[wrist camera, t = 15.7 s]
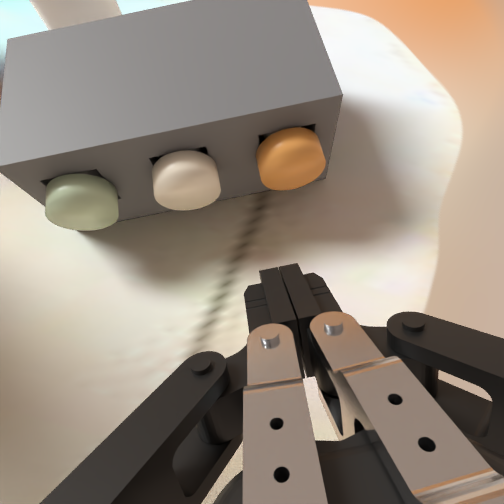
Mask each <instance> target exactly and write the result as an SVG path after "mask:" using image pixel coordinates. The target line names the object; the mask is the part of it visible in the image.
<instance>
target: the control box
mask: <svg viewBox="0 0 504 504" xmlns="http://www.w3.org/2000/svg"><path fill="white" fill-rule="evenodd" d="M342 96H343V94H342V91H341V88H340V86H339V83H338V80H337V78H336V75H335V73H334V70H333V67H332V65H331V62H330V59H329V57H328V54H327V51H326V49H325V46H324V44H323V41H322V38H321V36H320V33H319V30H318V28H317V25H316V23H315V20H314V17H313V15H312V12H311V9H310V7H309V4H308V2H307V0H191V1H186V2H182V3H177V4H172V5H167V6H163V7H158V8H153V9H148V10H144V11H139V12H134V13H129V14H125V15H120V16H115V17H110V18H106V19H101V20H96V21H91V22H87V23H82V24H77V25H72V26H68V27H63V28H58V29H53V30H49V31H44V32H39V33H34V34H30V35H25V36H20V37H15V38H11V39H8V40H7V49H6V58H5V67H4V77H3V86H2V95H1V104H0V172H1V173H2V174H3V175H4V176H6V177H7V178H8V179H10V180H11V181H12V182H14V183H15V184H16V185H17V186H19V187H20V188H21V189H23V190H24V191H25V192H27V193H28V194H29V195H31V196H32V197H33V198H34V199H36V200H37V201H38V202H40V203H41V204H42V205H44V206H46V187H47V185H48V183H49V182H50V181H51V180H53V179H54V178H56V177H59V176H62V175H67V174H75V173H80V172H84V171H89V170H94V169H97V170H98V172H99V173H100V174H101V175H102V176H103V177H104V179H105V180H107V181H109V182H110V183H111V184H113V185H114V186H115V188H116V190H117V193H118V212H119V217H118V219H117V221H116V222H118V221H123V220H128V219H133V218H137V217H142V216H147V215H152V214H157V213H161V212H166V211H171V210H173V209H169V208H166V207H164V206H162V205H160V204H159V203H158V202H157V201H156V199H155V197H154V189H153V179H152V168H153V166H154V164H155V163H156V162H157V160H159V159H160V158H161V157H163V155H166V154H169V153H172V152H177V151H185V150H190V149H195V148H200V147H201V152H202V153H204V154H206V155H208V156H210V157H211V158H212V159H213V160H214V161H215V163H216V165H217V171H218V176H219V182H220V187H221V192H220V195H219V197H218V198H217V199H216V200H215V201H219V200H224V199H229V198H234V197H239V196H244V195H248V194H253V193H258V192H263V191H268V190H272V189H270V188H268V187H266V186H265V185H264V184H263V183H262V181H261V177H260V173H259V168H258V164H257V160H256V151H257V149H258V147H259V145H260V144H261V143H262V142H263V141H264V140H265V139H264V135H263V134H267V133H272V132H277V131H281V130H283V129H287V128H295V127H301V128H306V129H309V130H312V131H313V132H314V133H316V135H317V136H318V139H319V142H320V145H321V148H322V151H323V154H324V157H325V160H326V166H325V168H324V170H323V172H322V173H321V174H320V175H319V176H318V177H317V178H316V179H315V180H313V181H316V180H321V179H325V178H326V173H327V169H328V164H329V159H330V154H331V149H332V144H333V140H334V135H335V130H336V125H337V120H338V115H339V111H340V106H341V101H342ZM215 201H214V202H215Z"/></svg>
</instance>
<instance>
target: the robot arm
mask: <svg viewBox="0 0 504 504" xmlns="http://www.w3.org/2000/svg"><path fill="white" fill-rule="evenodd" d="M259 273H260V279H261V283H260V284H255V285H250V286H248V287H247V289H246V291H245V293H244V298H245V305H246V312H247V319H248V326H249V336H248V338H247V345H246V346H245V347H244V348H243V349H242V350H241V351H239V352H238V353H236V354H234V355H232V356H230V357H228V358H226V359H225V358H224V357H223V355H221V354H220V353H217V352H213V351H206V352H201V353H197V354H195V355H193V356H191V357H189V358H188V359H187V360H185V361H184V362H183V363H182V364H181V365H180V366H179V367H178V368H177V369H176V370H175V371H174V372H173V373H172V374H171V375H170V376H169V377H168V378H167V379H166V380H165V381H164V382H163V383H162V384H161V385H160V386H159V387H158V388H157V389H156V390H155V391H154V392H153V393H152V394H151V395H150V396H149V397H148V398H147V399H146V400H145V401H144V402H143V403H142V404H141V405H140V406H139V407H138V408H137V409H136V410H134V411H133V412H132V413H131V414H130V415H129V416H128V417H127V418H126V419H125V420H124V421H123V422H122V423H121V424H120V425H119V426H118V427H117V428H116V429H115V430H114V431H113V432H112V433H111V434H110V435H109V436H108V437H107V438H106V439H105V440H104V441H103V442H102V443H101V444H100V445H99V446H98V447H97V448H96V449H95V450H94V451H93V452H92V453H91V454H90V455H89V456H88V457H87V458H86V459H85V460H84V461H83V462H82V463H81V464H80V465H79V466H78V467H77V468H76V469H74V470H73V471H72V472H71V473H70V474H69V475H68V476H67V477H66V478H65V479H64V480H63V481H62V482H61V483H60V484H59V485H58V486H57V487H56V488H55V489H54V490H53V491H52V492H51V493H50V494H49V495H48V496H47V497H46V498H45V499H44V500H43V501H42V502H41V503H40V504H201V503H202V501H203V500H204V498H205V497H206V495H207V494H208V492H209V491H210V489H211V488H212V486H213V485H214V483H215V482H216V480H217V479H218V477H219V476H220V474H221V473H222V471H223V470H224V468H225V467H226V465H227V464H228V462H229V461H230V459H231V458H232V456H233V455H234V453H235V452H236V450H237V449H238V447H239V446H240V444H241V443H242V441H243V470H242V471H241V472H240V473H239V474H237V475H236V476H235V477H234V478H233V479H232V480H231V481H230V482H229V483H228V484H227V485H226V486H225V488H224V489H223V490H222V491H221V493H220V494H219V495H218V497H217V498H216V500H215V501H214V503H213V504H504V339H503V338H500V337H496V336H493V335H490V334H487V333H484V332H480V331H477V330H474V329H471V328H468V327H464V326H461V325H458V324H455V323H452V322H448V321H445V320H442V319H438V318H435V317H432V316H429V315H426V314H422V313H418V312H401V313H397V314H395V315H393V316H391V317H390V318H389V319H388V321H387V327H369V326H362V325H359V324H358V323H357V321H356V320H355V319H354V318H353V317H352V316H351V315H349V314H346V313H343V312H342V310H341V308H340V307H339V305H338V303H337V302H336V300H335V298H334V297H333V295H332V293H331V292H330V290H329V288H328V287H327V285H326V283H325V281H324V280H323V278H322V277H320V276H318V275H316V274H315V273H309V274H304V275H303V273H302V271H301V269H300V267H299V265H298V264H297V263H295V264H290V265H285V266H280V267H279V270H278V267H276V268H271V269H266V270H261V271H259ZM304 370H305V373H306V376H307V378H308V377H313V376H315V378H316V380H317V384H318V392H319V397H320V399H321V402H322V404H323V406H324V408H325V411H326V413H327V415H328V417H329V419H330V422H331V424H332V426H333V428H334V431H335V433H336V435H337V437H338V439H339V441H316V440H315V438H314V433H313V428H312V423H311V418H310V413H309V408H308V403H307V398H306V394H305V389H304V384H303V378H305V374H304ZM439 370H441V371H443V372H446V373H448V374H451V375H453V376H455V377H458V378H460V379H463V380H465V381H468V382H470V383H473V384H475V385H477V386H479V387H481V388H483V389H484V390H485V391H486V392H487V393H488V394H489V395H490V396H491V398H492V401H493V402H491V401H489V400H486V399H484V398H481V397H479V396H477V395H474V394H472V393H470V392H468V391H465V390H463V389H461V388H458V387H456V386H453V385H451V384H449V383H446V382H444V381H442V380H439V379H438V371H439Z"/></svg>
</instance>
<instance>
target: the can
mask: <svg viewBox="0 0 504 504" xmlns="http://www.w3.org/2000/svg"><path fill="white" fill-rule="evenodd" d="M29 1H30V2H31V4H32V5H33V7H34V8H35V10H36V11H37V13H38V14H39V16H40V17H41V19H42V20H43V22H44V24H45V25H46V27H47V28H48V30H53V29H58V28H63V27H68V26H72V25H77V24H82V23H87V22H91V21H96V20H101V19H106V18H110V17H115V16H120V15H122V14H121V11H120V9H119V6H118V4H117V2H116V0H29Z"/></svg>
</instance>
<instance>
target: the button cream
mask: <svg viewBox="0 0 504 504" xmlns="http://www.w3.org/2000/svg"><path fill="white" fill-rule="evenodd" d="M152 179H153V189H154V197H155V199H156V201H157V202H158V203H159V204H160V205H162V206H164V207H166V208H169V209H173V210H194V209H199V208H202V207H205V206H207V205H209V204H211V203H212V202H214V201H215V200H216V199H217V198H218V197H219V195H220V192H221V187H220V182H219V176H218V171H217V165H216V163H215V161H214V160H213V159H212V158H211V157H210V156H208V155H206V154H204V153H202V152H201V147H200V148H195V149H190V150H185V151H177V152H172V153H169V154H166V155H163V157H161V158H160V159H159V160H157V162H156V163H155V164H154V166H153V168H152Z"/></svg>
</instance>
